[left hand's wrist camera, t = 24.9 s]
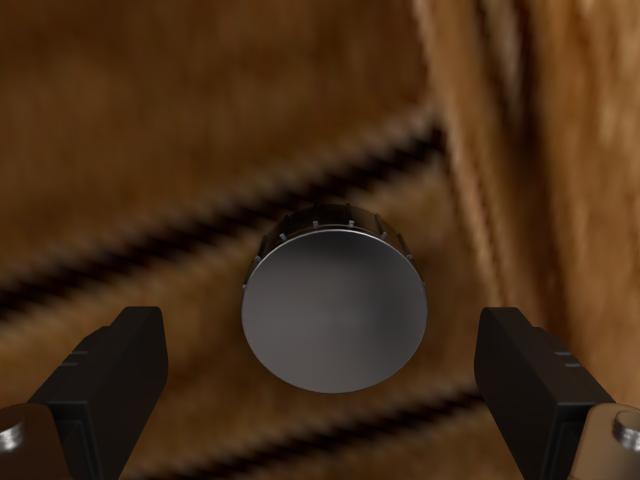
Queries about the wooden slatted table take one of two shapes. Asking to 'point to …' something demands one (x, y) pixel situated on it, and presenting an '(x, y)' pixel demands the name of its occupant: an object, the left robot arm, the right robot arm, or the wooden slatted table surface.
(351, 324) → the lid
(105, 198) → the wooden slatted table surface
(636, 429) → the left robot arm
